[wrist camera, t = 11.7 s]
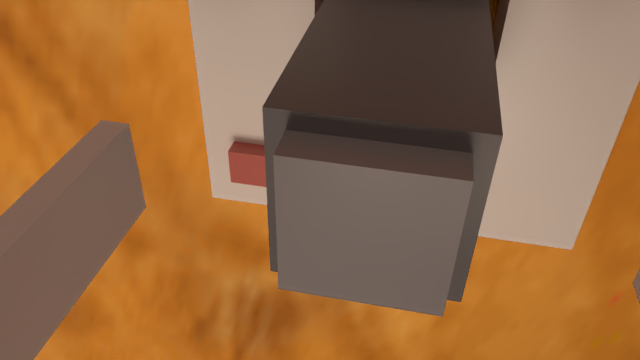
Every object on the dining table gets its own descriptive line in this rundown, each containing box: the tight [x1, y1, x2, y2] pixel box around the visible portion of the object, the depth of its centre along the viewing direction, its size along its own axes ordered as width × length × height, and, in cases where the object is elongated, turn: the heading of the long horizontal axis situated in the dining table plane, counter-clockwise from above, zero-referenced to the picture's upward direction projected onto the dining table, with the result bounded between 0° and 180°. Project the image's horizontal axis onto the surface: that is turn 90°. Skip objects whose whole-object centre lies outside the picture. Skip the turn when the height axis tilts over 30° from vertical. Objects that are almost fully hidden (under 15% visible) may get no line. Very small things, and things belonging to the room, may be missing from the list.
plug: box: [262, 0, 503, 316], centre depth 17 cm, size 5×5×13 cm
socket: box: [188, 0, 640, 250], centre depth 21 cm, size 16×16×4 cm
